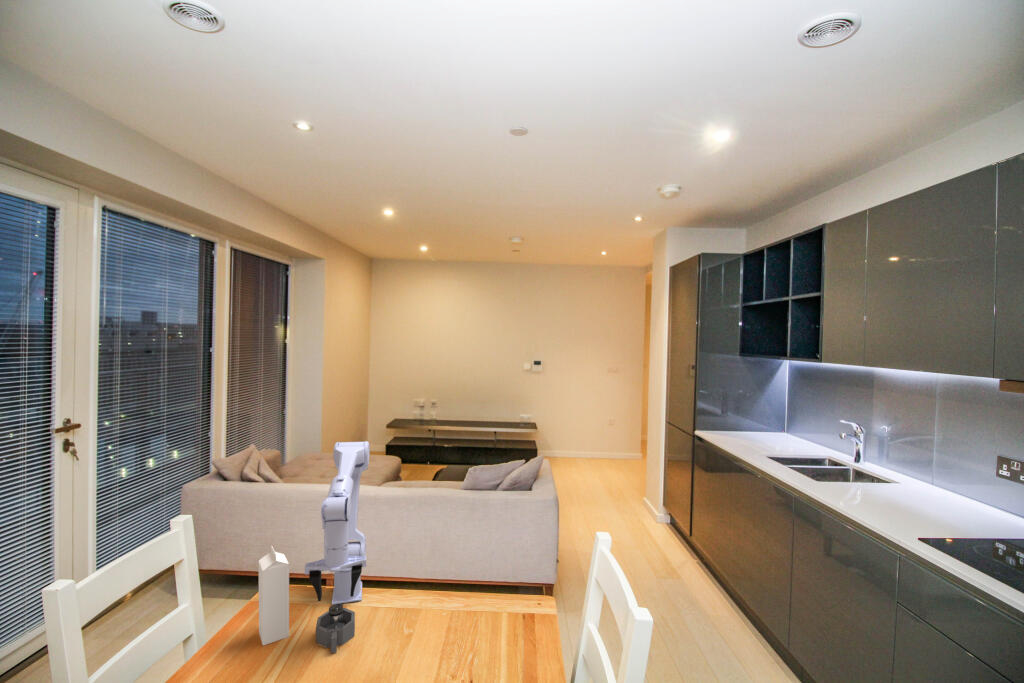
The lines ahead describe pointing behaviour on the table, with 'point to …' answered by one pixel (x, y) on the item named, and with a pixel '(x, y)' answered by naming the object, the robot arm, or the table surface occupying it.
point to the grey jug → (335, 635)
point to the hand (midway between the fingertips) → (336, 596)
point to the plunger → (335, 616)
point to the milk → (273, 597)
